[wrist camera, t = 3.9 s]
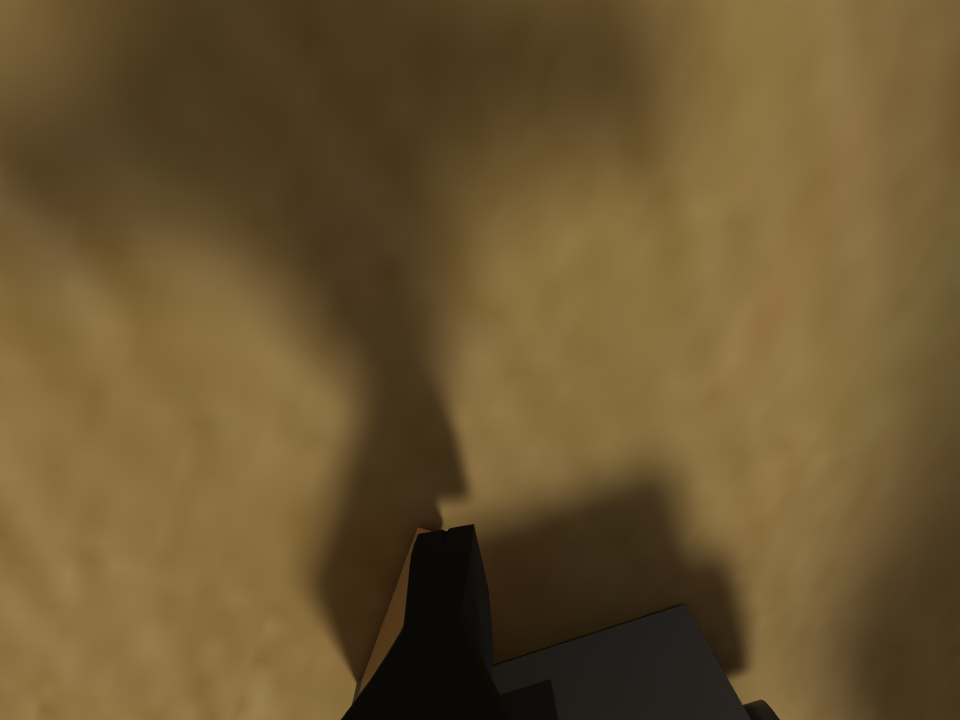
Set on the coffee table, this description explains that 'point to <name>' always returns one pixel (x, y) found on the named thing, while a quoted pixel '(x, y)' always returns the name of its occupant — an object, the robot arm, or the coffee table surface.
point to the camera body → (626, 676)
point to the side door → (389, 623)
